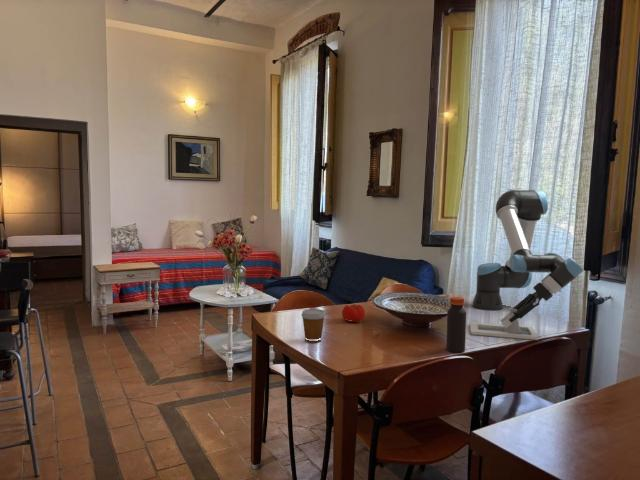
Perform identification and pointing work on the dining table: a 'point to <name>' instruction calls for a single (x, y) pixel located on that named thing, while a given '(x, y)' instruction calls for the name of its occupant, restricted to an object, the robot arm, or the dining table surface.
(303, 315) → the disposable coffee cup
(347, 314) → the tomato
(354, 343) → the dining table surface
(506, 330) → the flask
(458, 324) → the bottle
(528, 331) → the keyhole plate
